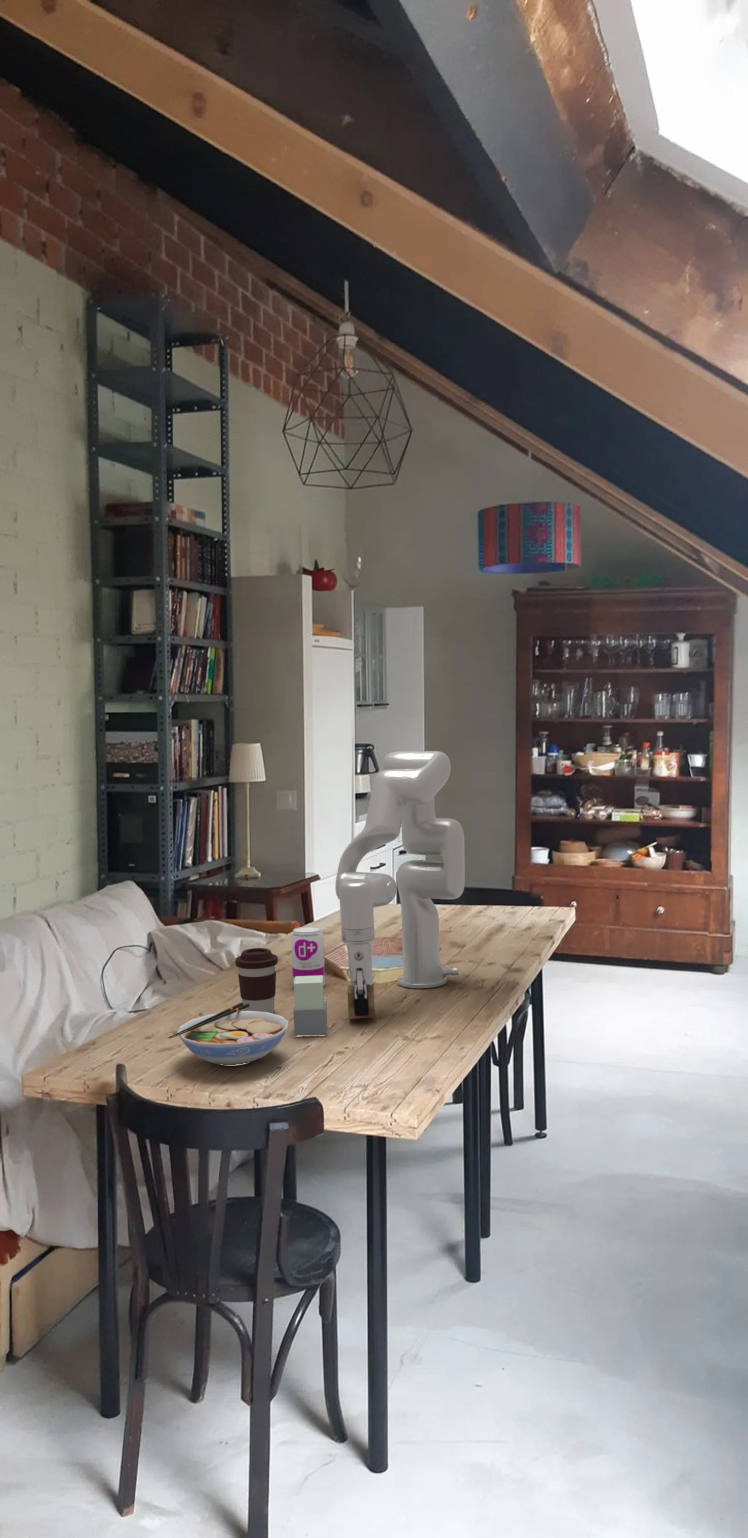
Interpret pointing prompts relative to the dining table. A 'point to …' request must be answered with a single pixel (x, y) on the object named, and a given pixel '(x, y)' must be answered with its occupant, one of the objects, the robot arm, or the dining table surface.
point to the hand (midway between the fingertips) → (361, 1009)
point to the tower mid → (308, 992)
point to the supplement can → (307, 952)
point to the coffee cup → (257, 979)
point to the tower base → (310, 1021)
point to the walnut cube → (369, 995)
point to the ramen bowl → (233, 1035)
